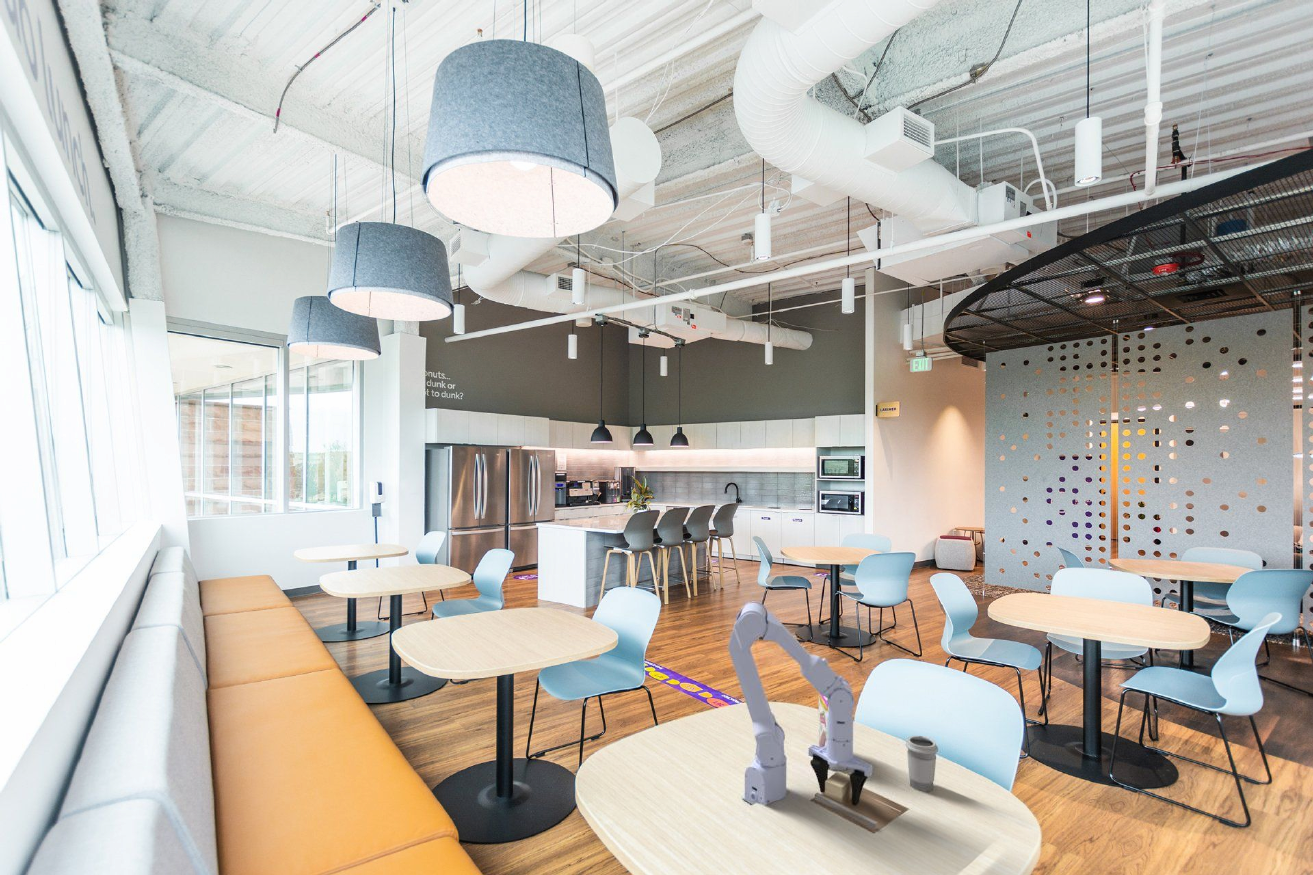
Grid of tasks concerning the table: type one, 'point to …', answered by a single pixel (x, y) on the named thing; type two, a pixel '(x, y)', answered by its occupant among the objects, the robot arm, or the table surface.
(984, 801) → the table surface
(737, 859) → the table surface
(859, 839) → the table surface
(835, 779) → the block
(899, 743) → the table surface
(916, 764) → the cup
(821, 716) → the candy bar box
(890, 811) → the walnut board
